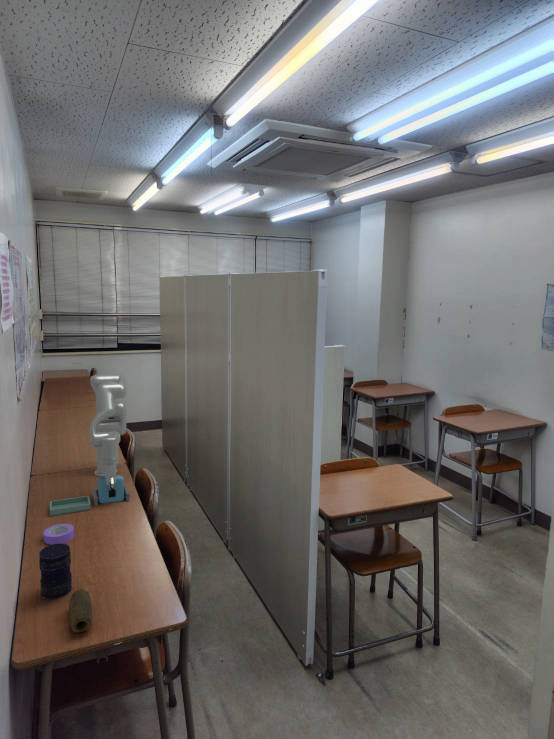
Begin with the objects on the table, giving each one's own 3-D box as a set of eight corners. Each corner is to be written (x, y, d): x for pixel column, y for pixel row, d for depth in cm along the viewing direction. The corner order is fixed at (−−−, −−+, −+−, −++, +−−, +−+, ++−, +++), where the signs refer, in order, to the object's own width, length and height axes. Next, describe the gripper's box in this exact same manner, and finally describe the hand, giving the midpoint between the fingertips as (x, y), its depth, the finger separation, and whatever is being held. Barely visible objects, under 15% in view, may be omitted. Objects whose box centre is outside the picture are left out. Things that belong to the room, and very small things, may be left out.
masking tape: (39, 538, 199) (38, 529, 198) (67, 528, 207) (66, 520, 207) (50, 548, 191) (50, 539, 190) (79, 538, 199) (78, 529, 199)
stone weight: (66, 609, 154) (65, 590, 153) (89, 603, 158) (88, 584, 157) (71, 638, 141) (70, 618, 140) (95, 631, 145) (95, 611, 144)
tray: (50, 507, 227) (49, 501, 227) (89, 501, 234) (89, 495, 234) (49, 516, 218) (49, 510, 217) (90, 510, 225) (90, 504, 225)
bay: (92, 497, 239) (92, 489, 238) (126, 492, 246) (126, 485, 245) (94, 506, 229) (94, 498, 228) (129, 501, 236) (129, 493, 235)
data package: (123, 497, 240) (123, 475, 238) (124, 501, 236) (123, 478, 234) (98, 500, 236) (97, 477, 234) (98, 504, 232) (97, 481, 230)
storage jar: (40, 602, 157) (37, 561, 155) (41, 585, 166) (39, 546, 164) (72, 595, 161) (70, 555, 159) (72, 579, 170) (70, 541, 168)
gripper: (100, 456, 239) (101, 488, 241) (103, 467, 223) (104, 501, 226) (116, 454, 242) (117, 486, 244) (120, 465, 226) (121, 498, 229)
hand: (111, 493), depth 235 cm, fingers open, 9 cm apart
